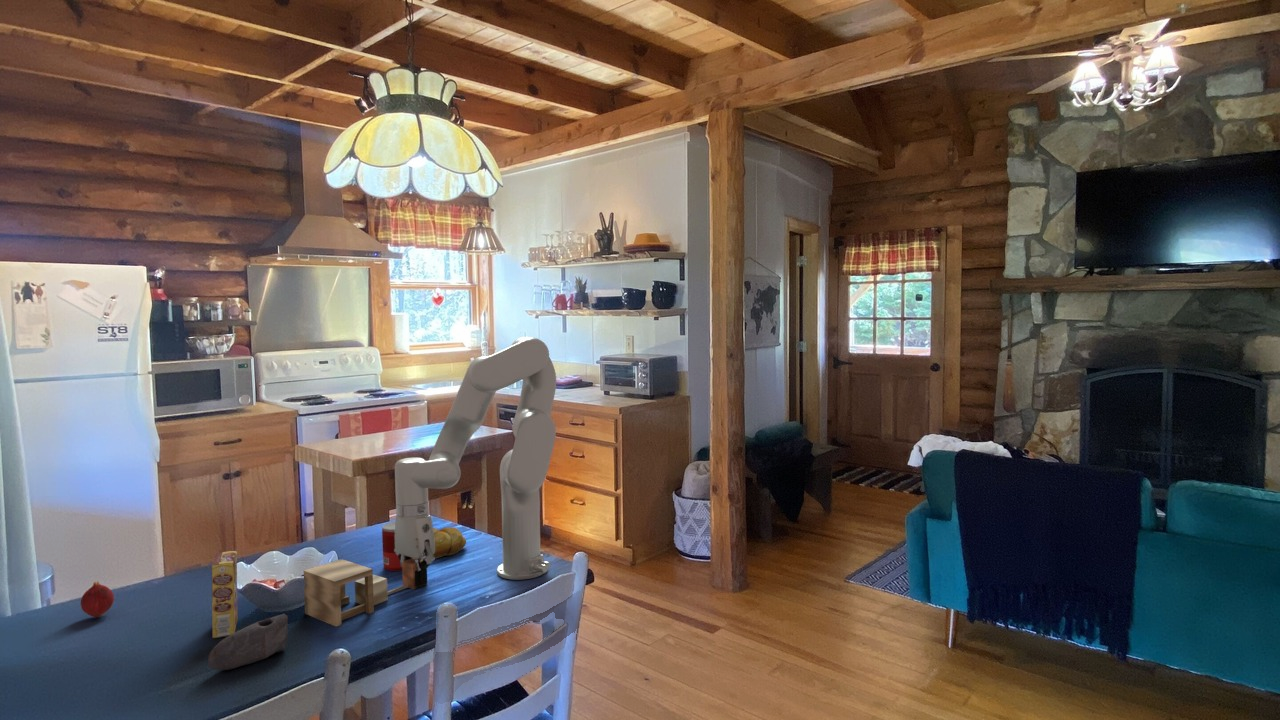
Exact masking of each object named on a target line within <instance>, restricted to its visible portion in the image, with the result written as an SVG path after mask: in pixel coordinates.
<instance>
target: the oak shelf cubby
mask: <svg viewBox="0 0 1280 720" xmlns="http://www.w3.org/2000/svg"><path fill="white" fill-rule="evenodd" d="M373 573H374V572H373V568H370V567H367V566H364V565H361V564H358V563H355V562H352V561H349V560H346V559H342V558H341V559H337V560H334V561H330V562H327V563H324V564H321V565H317V566H314V567H311V568H307V569H304V570H303V581H304V580H305V581H306V582H305V588H304V587H303V589H304V590H303V591H304V594H303V595H304V614H305V615H308V616H310V617H312V618H315V619H317V620H319V621H322V622H325V623H326V624H329V625H331V626H333V627H339V626H342V621H344V620H346V619H349V618H351V617H354V616H357V615H359V614H362V613H364V612H365V613H366V614H367V615H370V614H373V613H374V612H375V605H374V600H373V575H374V574H373ZM362 578H365V603H364V604H358V605H357V606H354V607H350V608H348V609H346V610H343V611H342V607H343V606H345V605H348V604H350V603H351V602H350V596H349V595H346V584H348V583H351V582H355V581H357V580H359V579H362Z"/></svg>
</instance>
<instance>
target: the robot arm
mask: <svg viewBox="0 0 1280 720" xmlns="http://www.w3.org/2000/svg"><path fill="white" fill-rule="evenodd" d="M555 369H556V368H555V367H554V363H553V361H552V359H551V357H550V351H549V348H548V346H547V344H546V343H545V342H544V341H542V340H541V339H539V338H538V337H537V338H536V337H530V336H522V337H519V338H517V339H516V340H514V341H513V342H512V344H511V346H509V347H507V348H505V349H502V350H500V351H498V352H495V353H492V354H491V355H487V356H486V355H485V356H479V357H476V358H474V359H473V360H472V361H471V362H470V364H469V366H468V368H467V370H466V372H465V375H464V377H463V379H462V382H461V384H460V386H459V389H458V391H457V393H456V396H455V398H454V400H453V403H452V404H451V407H450V410H449V412H448V413H447V416H446V419H445V421H444V424H443V426H442V428H441V430H440V432H439V435H438V436H437V438H436V442H435V443H434V444H435V445H434V446H433V449H432V450H431V454H430V456H429V458H428V460H426V459H424V458H423V457H404V458H400V459H399V460H397V461H396V463H395V464H394V482H395V483H394V485H395V489H394V490H395V514H396V515H395V521H394V522H395V549H394V551H395V553H396V554H397V555H398V557H399V559H400V561H401V562H400V565H401V566H402V562H403V561H406V560H409V559H411V558H415V564H416V571H415V587H418V588H420V586H421V587H423V586H425V584H426V585H428V568H430V564H432V563H433V562H434V561H435V559H436V558H434V555H433V554H434V553H435V539H434V530H433V528H434V525H433V520H432V517H431V515H430V514H429V512H430V508H429V506H430V505H429V504H430V503H429V489H435V490H436V489H437V490H439V489H440V490H441V489H442V490H443V489H444V490H445V489H449V488H452V487H454V486H455V485H457V484H458V482H459V480H460V478H461V473H462V472H461V468H460V465H459V464H460V462H461V459H462V457H463V455H464V453H465V449H466V447H467V445H468V444H469V441H470V439H471V438H472V436H473V435H474V434H475V433H476V432H477V431H478V430H479V429H480V428H481V426H482V425H483V423H484V421H485V418H486V416H487V414H488V411H489V408H490V406H491V404H492V401H493V399H494V396H495V394H496V392H497V391H499V390H502V389H504V388H507V387H509V386H511V385H515V383H518V382H520V381H522V386H521V391H520V396H519V401H518V403H517V404H518V405H517V408H516V412H515V415H514V418H513V422H512V426H511V427H512V433H513V436H514V437H515V439H514V443H513V447H512V449H510V450H509V451H507V452H506V453H504V456H503V457H502V459H501V462H500V464H499V479H500V480H499V481H500V493H501V522H502V523H501V527H502V529H501V530H502V531H501V534H502V563H501V564H500V565H498V566H497V568H496V574H497V576H499V577H501V579H502V578H503V579H507V580H512V581H513V580H514V581H515V580H518V581H519V580H520V581H521V580H522V581H523V580H529V579H534V578H538V577H541V576H542V575H544V574H546V573H547V572H548V569H549V568H550V567H551V562H550V561H546V560H544V554H542V553H541V518H540V517H541V515H540V514H541V513H540V511H541V501H540V500H541V499H540V498H541V497H540V488H541V487H542V485H543V484H544V482H545V480H546V477H547V474H548V471H549V466H550V461H551V459H552V454H553V450H554V447H555V442H556V435H557V432H556V429H557V428H556V424H555V422H554V420H553V418H552V417H551V416H552V415H551V414H552V409H553V405H554V401H555V400H554V398H555V395H556V394H555V393H556V389H557V374H556V370H555ZM421 559H423V561H422V562H421V564H420V560H421ZM401 576H402V580H403V574H402V573H401ZM422 585H423V586H422Z"/></svg>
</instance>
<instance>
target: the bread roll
mask: <svg viewBox="0 0 1280 720" xmlns="http://www.w3.org/2000/svg"><path fill="white" fill-rule="evenodd" d="M433 530H434V539H435V553H434V554H433V555H434V558H435V559H439V558H442V557H444V556H452V555H455V554H458V552H460V551H462V550H463V549H464V547H466V544H467V539H466V537H464V536H463V533H462V532H461V530H459V529H458V528H456V527H453V526H451V527H450V526H446V527H443V528H441V529H438V528H436V527H433Z"/></svg>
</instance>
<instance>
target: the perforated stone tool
mask: <svg viewBox="0 0 1280 720" xmlns="http://www.w3.org/2000/svg"><path fill="white" fill-rule="evenodd" d="M288 620H289V616H288V615H286V613H282V614H279V615H278V614H277V615H275V616H272V617H268V618H265V619H263V620H258V621H256V622H254V623H251V624H250V625H248V626H246V627H244V628H241V629H238V630H237V631H235V633H233V634H231V635H230V636H225V637H224V638H223V639H222V640H221V641H219V642H218V643H217V644H216V645H215V646H214V647H213V648H212V650H211V651H210V652H209V655H208V660H207V661H208V665H209V667H211V668H212V669H213V670H217V671H227V670H234V669H237V668H239V667H242V666H247V665H251V664H253V663H257V662H259V661H262V660H265V659H267V658H269V657H271V656H272V655H274V654H276V653H280V652H282V651H284V650H286V645H287V639H288V627H289V625H288V623H289V621H288Z"/></svg>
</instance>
